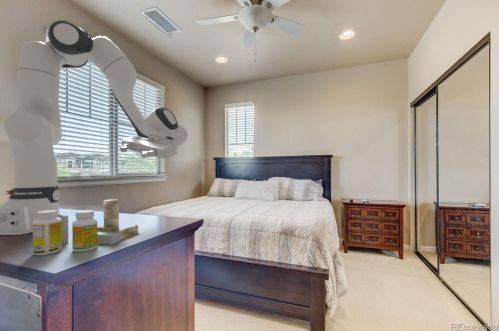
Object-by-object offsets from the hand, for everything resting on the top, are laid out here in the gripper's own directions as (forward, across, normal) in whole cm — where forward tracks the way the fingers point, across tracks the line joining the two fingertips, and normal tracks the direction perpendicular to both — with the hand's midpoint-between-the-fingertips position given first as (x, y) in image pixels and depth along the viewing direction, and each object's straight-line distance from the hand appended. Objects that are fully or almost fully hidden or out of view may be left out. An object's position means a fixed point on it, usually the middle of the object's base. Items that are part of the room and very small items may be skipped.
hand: (132, 152), depth 87 cm
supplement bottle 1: (+34, +5, +15) cm, 38 cm away
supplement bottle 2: (+29, +12, +15) cm, 35 cm away
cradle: (+18, +9, +20) cm, 28 cm away
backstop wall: (+24, +9, +17) cm, 31 cm away
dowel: (+19, +9, +19) cm, 29 cm away
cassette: (+27, -3, +20) cm, 34 cm away
